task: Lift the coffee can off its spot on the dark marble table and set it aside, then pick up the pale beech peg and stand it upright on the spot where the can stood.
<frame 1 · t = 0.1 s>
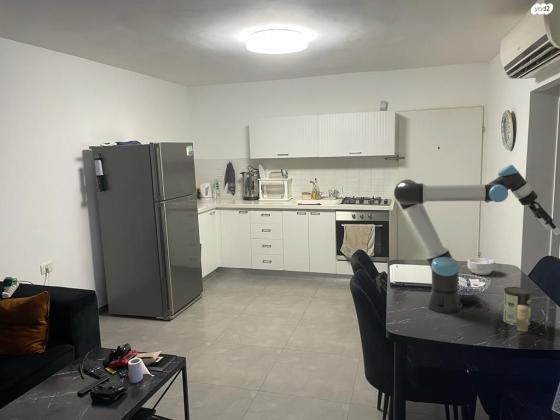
hand: (554, 231, 190), 36 cm above the table, tool tilted 35°, fingers open, 13 cm apart
paper bowls: (480, 273, 251), on the table
peg: (522, 329, 170), on the table
coffee can: (516, 322, 178), on the table
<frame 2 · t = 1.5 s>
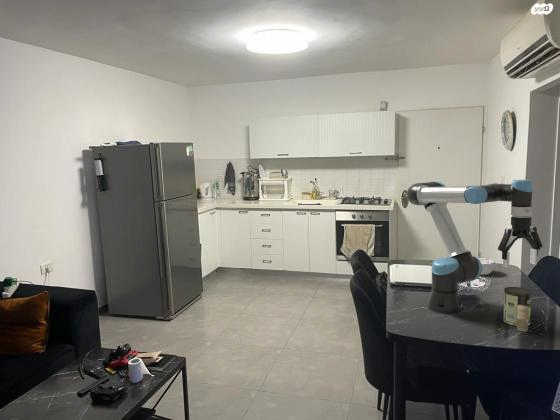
hand: (519, 265, 176), 25 cm above the table, tool pointing down, fingers open, 13 cm apart
nothing on the table moved.
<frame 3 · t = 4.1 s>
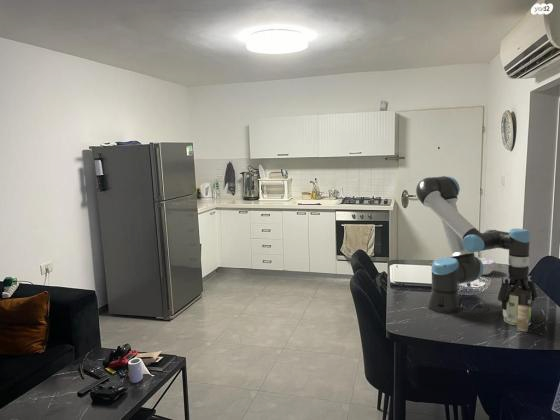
hand: (516, 315, 178), 3 cm above the table, tool pointing down, fingers closed on coffee can, 10 cm apart
coffee can: (516, 322, 178), on the table, touching gripper
everything else where it was.
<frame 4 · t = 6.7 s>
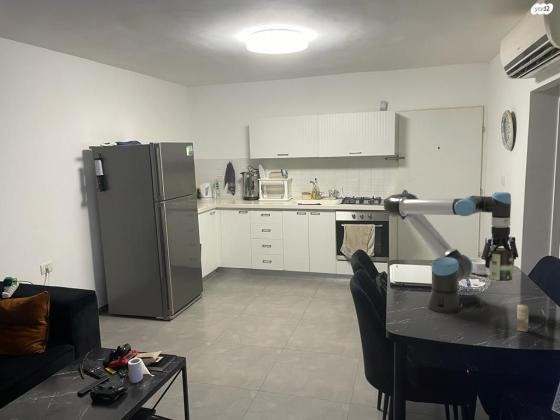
hand: (499, 273, 190), 17 cm above the table, tool pointing down, fingers closed on coffee can, 10 cm apart
coffee can: (499, 279, 190), point 14 cm above the table, touching gripper
everything else where it was.
when the fingers open (4 cm above the table, at t = 9.2 s): coffee can drops 1 cm, on the table.
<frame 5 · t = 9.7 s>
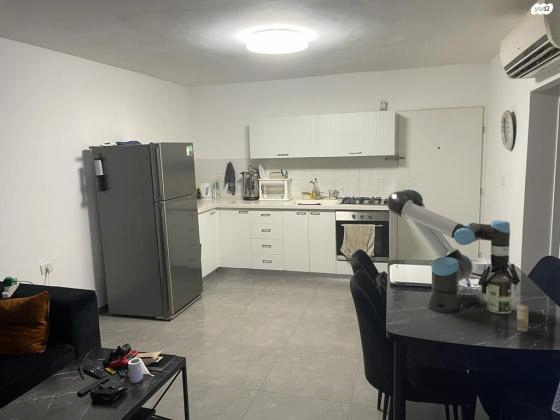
hand: (498, 298, 192), 5 cm above the table, tool pointing down, fingers open, 13 cm apart
coffee can: (498, 310, 192), on the table
everything else where it was.
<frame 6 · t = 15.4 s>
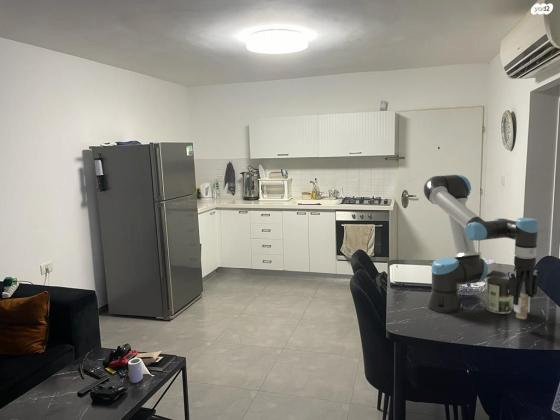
hand: (521, 311, 169), 8 cm above the table, tool pointing down, fingers closed on peg, 3 cm apart
peg: (521, 317, 170), point 5 cm above the table, touching gripper
everything else where it was.
when the fingers open (1 cm above the table, at t = 19.7 s): peg stays where it is, on the table.
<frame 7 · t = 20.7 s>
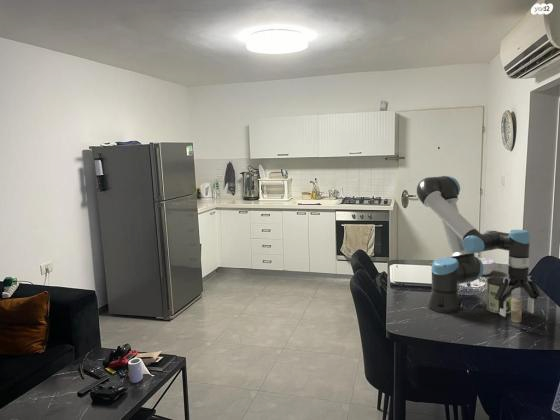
hand: (516, 313, 178), 3 cm above the table, tool pointing down, fingers open, 13 cm apart
peg: (515, 321, 179), on the table
everything else where it was.
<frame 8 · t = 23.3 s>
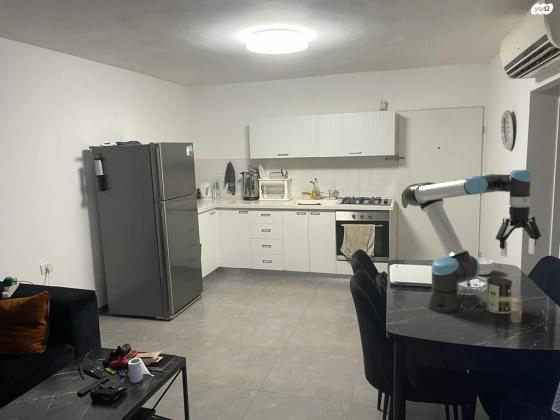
hand: (517, 254, 178), 29 cm above the table, tool pointing down, fingers open, 13 cm apart
nothing on the table moved.
at the end: coffee can moved 14.2 cm from its start; peg 0.3 cm from the target spot, on the table; peg tilted 0° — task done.
